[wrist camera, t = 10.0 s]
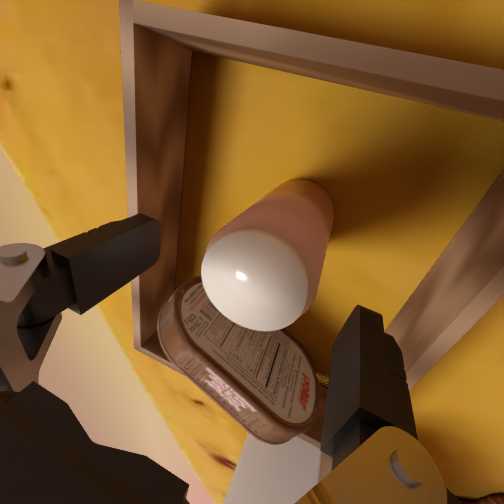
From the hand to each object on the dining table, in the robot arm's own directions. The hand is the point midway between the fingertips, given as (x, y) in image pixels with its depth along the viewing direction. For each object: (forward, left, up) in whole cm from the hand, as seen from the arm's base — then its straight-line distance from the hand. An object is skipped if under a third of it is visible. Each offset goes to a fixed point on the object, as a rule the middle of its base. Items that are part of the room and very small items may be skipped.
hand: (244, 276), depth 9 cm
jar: (0, 0, -10) cm, 10 cm away
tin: (+11, 0, -10) cm, 15 cm away
